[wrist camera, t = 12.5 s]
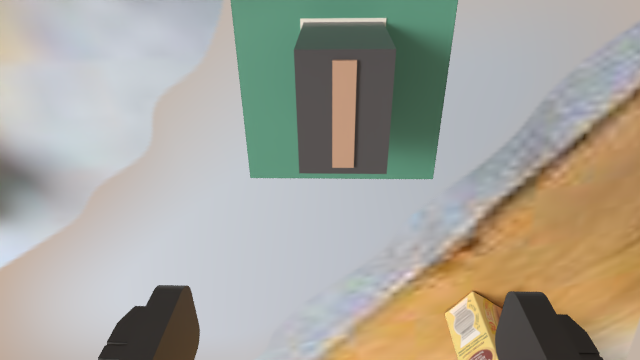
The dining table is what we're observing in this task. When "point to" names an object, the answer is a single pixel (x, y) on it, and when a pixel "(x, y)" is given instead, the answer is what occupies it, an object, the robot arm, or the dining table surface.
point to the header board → (279, 78)
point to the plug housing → (344, 97)
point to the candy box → (474, 327)
